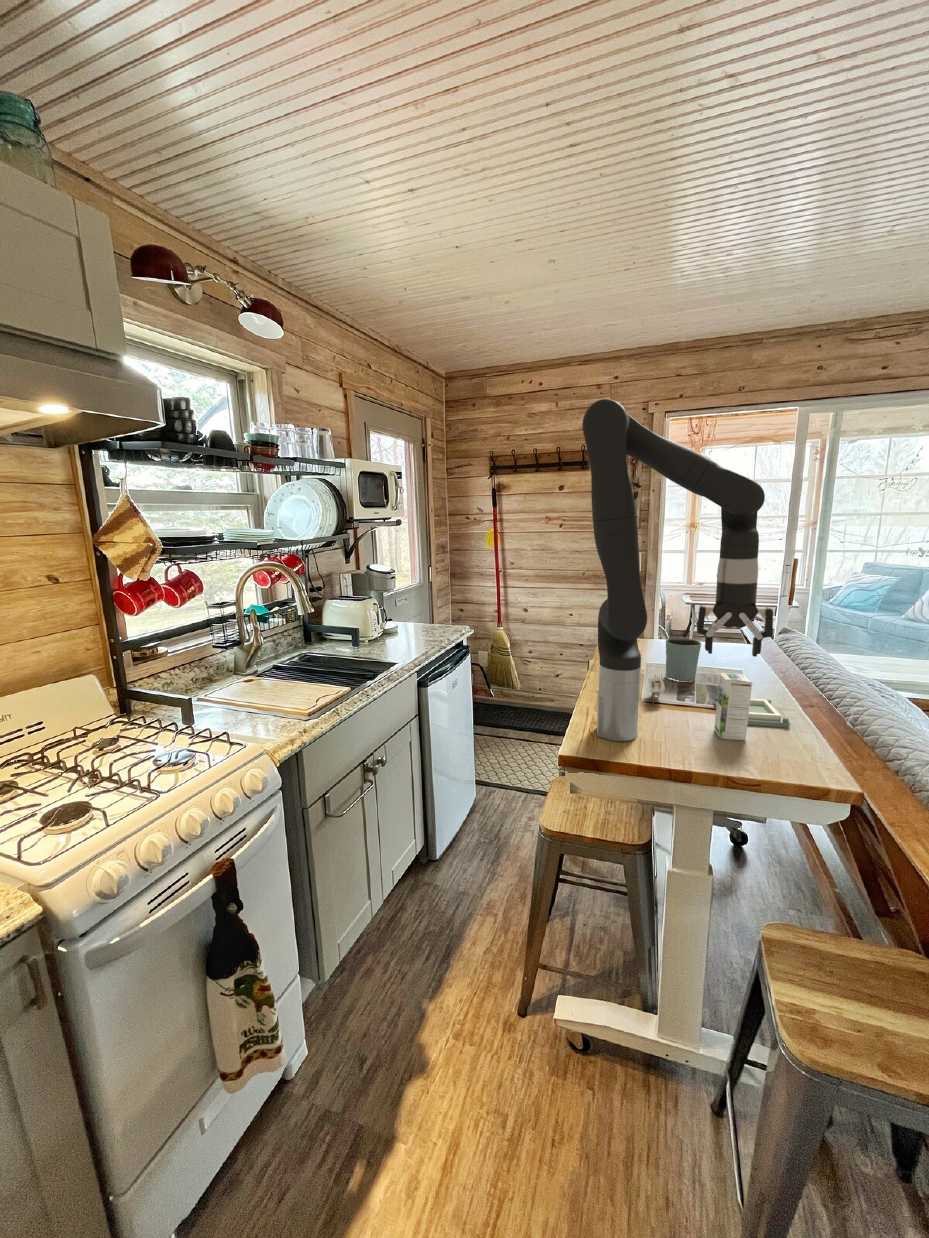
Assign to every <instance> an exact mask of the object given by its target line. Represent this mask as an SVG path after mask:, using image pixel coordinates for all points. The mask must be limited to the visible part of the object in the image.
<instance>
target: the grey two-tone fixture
mask: <svg viewBox="0 0 929 1238" xmlns="http://www.w3.org/2000/svg"><path fill="white" fill-rule="evenodd" d="M656 684H658V687H657V686H656ZM648 687H649V691H650V692H651V699H652V698H653V701H652V706H654V704H655V697H654V696H659V697H660V694H661V692H665V690H666V687H665V682H664V681H663V680H662V679H661V676H660V675H653V676H652V678H648Z"/></svg>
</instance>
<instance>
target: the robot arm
mask: <svg viewBox="0 0 929 1238" xmlns="http://www.w3.org/2000/svg"><path fill="white" fill-rule="evenodd" d="M585 411H586V412H585V413H584V416H583V418H582V424H581V425H582V433H583V437H584V443H585V446H586V450H587V456H588V461H589V467H590V475H591V477H590V479H591V483H590V484H591V485H590V487H591V492H590V493H591V512H592V515H591V516H592V526H593V534H594V535H593V537H594V541H595V542H594V543H595V547H596V551H597V555H598V557H599V560H600V564H601V567H602V570H603V573H604V577H605V580H606V587H607V588H606V589H607V598H606V599H605V600H604V601H603V602H602V604H601V605H600V608H599V611H598V618H597V649H598V656H599V667H598V668H599V669H598V671H599V672H598V690H597V708H596V709H597V710H596V737H597V738H603V739H604V740H609V741H614V742H629V741H633V740H635V739H636V738H637V737H638V736H637V735H638V729H639V728H638V725H639V724H638V723H639V721H638V719H639V701H640V687H641V686H640V684H641V683H640V682H641V665H642V656H641V653H640V649H639V645H638V638H640V637H641V636H642V635H643V633H644V632H645V630H646V627H647V624H648V611H647V607H646V601H645V597H644V592H643V587H642V581H641V570H640V569H641V568H640V550H639V549H640V547H639V531H638V530H639V529H638V528H639V527H638V517H637V516H638V515H637V508H636V501H635V496H634V492H633V488H632V483H631V480H630V477H629V473H628V472H629V471H628V464H627V456H629V457H631V458H633V459H635V460H637V461H640V462H641V463H643V464H644V465H646V466H647V467H649V468H651V469H653V470H654V471H655V472H656V473H659V475H661V476H663V477H665V478H666V479H668V480H670V481H671V482H673V483H675V484H676V485H678V486H680V487H681V488H683V489H685V490H687V491H689V492H691V493H693V494H695V495H696V496H699V497H704V498H705V499H708V500H709V501H710V502H712V503H713V504H716V505H717V506H719V507H720V508H721V509H720V514H721V515H720V517H721V518H720V519H721V520H720V521H721V537H720V545H719V546H720V547H719V561H718V565H717V570H716V571H717V573H716V591H715V593H716V594H715V603H714V605H713V606H708V605H707V606H705V604H700V605H699V606H698V607H699V608H698V614H697V615H698V616H697V625H696V632H697V634H700V635H703V636H704V637H705V640H704V649H705V651H706V652H707V653H708V654H709V655H710V654H713V644H714V643H713V642H714V641H713V640H714V636H713V635H714V634H715V633H716V632H717V631H718V630H720V629H721V627H725V628H738V629H744V628H745V627H747V628H748V630H749V631H750V632H751V633H752V635H753V636H754V637H752V638H753V639H752V649H751V655H752V657H755V658H756V657H757V656H758V655H760V654H761V651H762V642H763V639H764V638H765V639H766V638H771V637H773V635H774V634H773V633H774V610H773V608H771V606H765V607H757V593H758V591H757V590H758V578H759V558H758V557H759V549H760V548H759V546H760V535H759V532H758V529H757V525H758V512H759V511H760V510H761V508H762V506H764V503H765V499H766V494H765V491H764V488H762V486H761V485H760V484H759V483H758V482H756V481H755V480H753V479H751V478H749V477H746V476H744V475H742V474H740V473H737V472H735V471H733V470H730V469H728V468H726V467H724V466H722V465H720V464H719V463H717V462H716V461H714V460H712V459H710V458H708V457H706V456H705V455H703V454H701V453H699V452H698V451H696V450H693V449H691V448H690V447H688V446H685V445H682V444H680V443H678V442H675V441H673V440H672V439H671V440H670V439H668V438H666V437H663V436H661V435H659V434H658V433H656V432H654V431H652V430H651V429H649V428H647V427H645V426H644V425H642V424H641V423H640V422H638V421H637V420H636V419H635V418H633V417H632V416H631V415H630V414H628V411H627V410H626V408H624V406H623V405H622V404H621V403H620V402H618V401H616V400H613V399H610V398H603V399H598V400H597V401H595V402H593V403H592V404H591V405H590V406H589V407H588V408H587V409H586V410H585ZM711 613H713V615H714V616H715V617H716V618H715V620H714V621H713V622H712V623H711V625H710V626H709V627H708V628H706V627H704V626H705V619H706V617H709V615H710V614H711ZM758 614H759V615H760V617H761V618H762V619H764V629H763V630H759V628H757V626H756V624H755V623H754V622H753V620H754V618H756V616H757V615H758Z"/></svg>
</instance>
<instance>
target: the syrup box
mask: <svg viewBox="0 0 929 1238" xmlns="http://www.w3.org/2000/svg"><path fill="white" fill-rule="evenodd" d="M752 688H753V681H752V680H751V679H750V678H749V677H748V676H746V674H742V673H735V672H734V673H733V672H721V673H720V674H719V681H718V692H717V697H718V698H717V707H716V706H715V707H716V709H715V718H714V731H715V732H716V734H717V736H718V738H719V739H721V740H733V741H735V740H736V741H747V733H748V732H747V731H748V726H749V725H748V716H749V707H750V699H752V698H751V696H752V690H753V689H752Z"/></svg>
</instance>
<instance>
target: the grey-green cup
mask: <svg viewBox="0 0 929 1238" xmlns="http://www.w3.org/2000/svg"><path fill="white" fill-rule="evenodd" d="M701 647H702V642H701V641H699V640H696V639H692V638H687V637H686V638H683V637H671V638H667V639H666V640H665V657H666V658H665V665H666V666H665V677H666V676H667V677H668V678H672V679H675V680H679V681H692V680H694V679H695V680H696V677H697V676H696V674H697V671H698V669H697V667H698V662H699V659H700V652H701ZM695 680H694V681H695Z"/></svg>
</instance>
